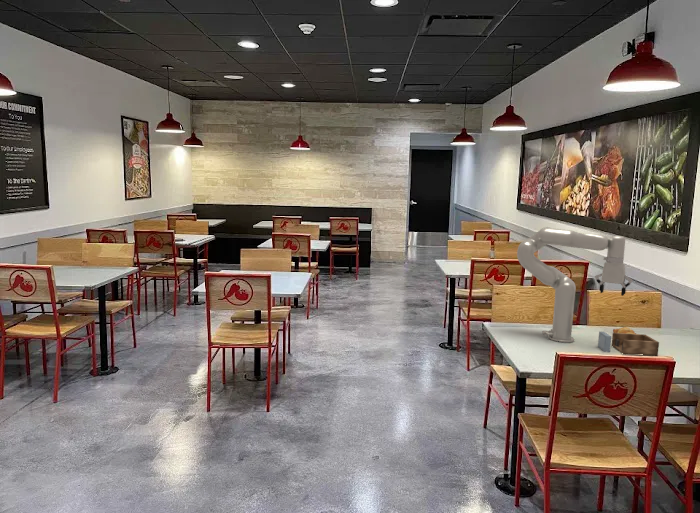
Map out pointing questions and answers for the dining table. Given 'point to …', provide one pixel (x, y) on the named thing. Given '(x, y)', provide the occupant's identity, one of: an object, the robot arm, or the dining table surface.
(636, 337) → the wooden box
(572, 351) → the dining table surface
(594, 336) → the dining table surface
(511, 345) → the dining table surface
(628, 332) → the croissant
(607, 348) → the blue-gray flat block
